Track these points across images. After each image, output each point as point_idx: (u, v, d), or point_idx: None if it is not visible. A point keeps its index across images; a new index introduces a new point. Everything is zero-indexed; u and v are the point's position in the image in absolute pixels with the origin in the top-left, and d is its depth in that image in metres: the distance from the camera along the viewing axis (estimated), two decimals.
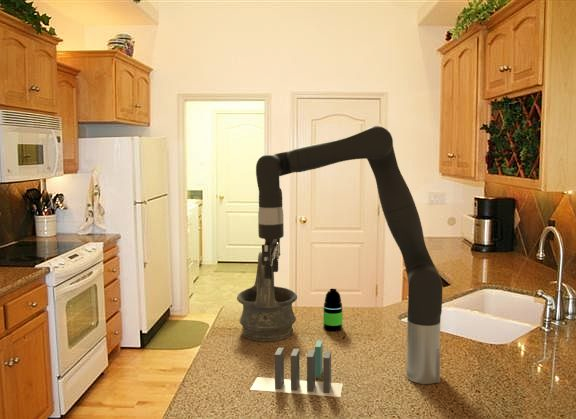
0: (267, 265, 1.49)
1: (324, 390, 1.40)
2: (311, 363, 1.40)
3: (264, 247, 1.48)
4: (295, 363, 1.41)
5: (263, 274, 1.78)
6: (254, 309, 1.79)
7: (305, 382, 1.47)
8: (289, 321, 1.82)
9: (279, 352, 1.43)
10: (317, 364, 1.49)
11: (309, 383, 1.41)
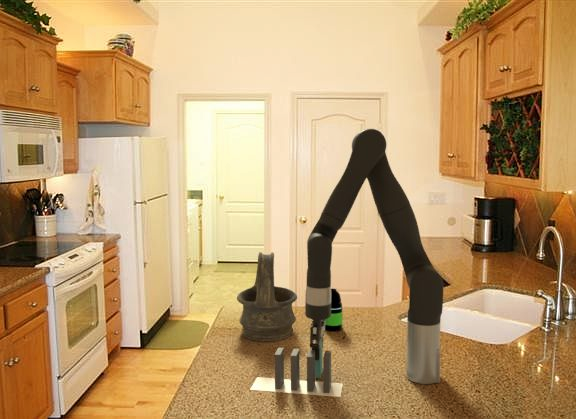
0: (315, 348, 1.45)
1: (324, 390, 1.40)
2: (311, 363, 1.40)
3: (313, 330, 1.44)
4: (295, 363, 1.41)
5: (263, 274, 1.78)
6: (254, 309, 1.79)
7: (305, 382, 1.47)
8: (289, 321, 1.82)
9: (279, 352, 1.43)
10: (317, 364, 1.49)
11: (309, 383, 1.41)
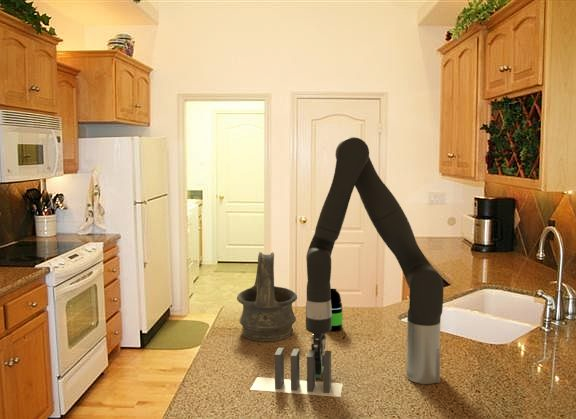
0: (317, 362, 1.47)
1: (324, 390, 1.40)
2: (311, 363, 1.40)
3: (314, 347, 1.45)
4: (295, 363, 1.41)
5: (263, 274, 1.78)
6: (254, 309, 1.79)
7: (305, 382, 1.47)
8: (289, 321, 1.82)
9: (279, 352, 1.43)
10: None
11: (309, 383, 1.41)
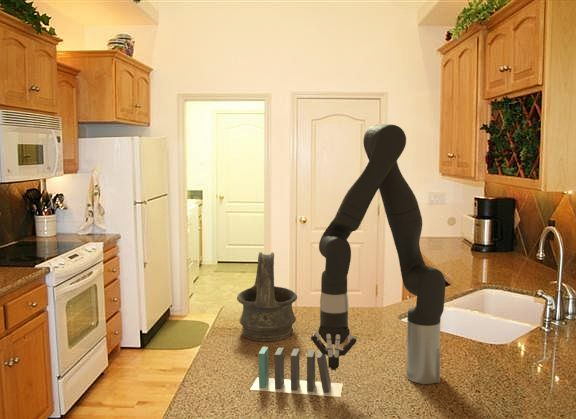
0: None
1: (324, 390, 1.40)
2: (311, 363, 1.40)
3: None
4: (295, 363, 1.41)
5: (263, 274, 1.78)
6: (254, 309, 1.79)
7: (305, 382, 1.47)
8: (289, 321, 1.82)
9: (279, 352, 1.43)
10: (261, 371, 1.43)
11: (309, 383, 1.41)
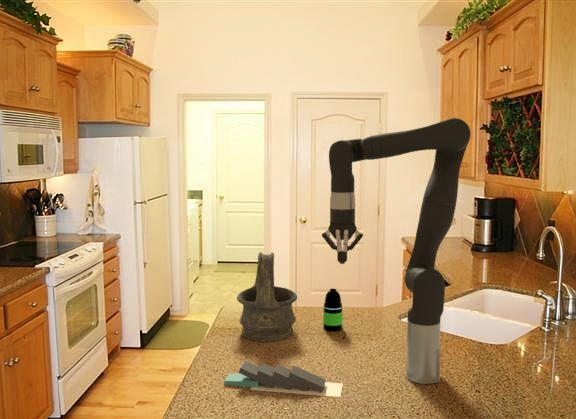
0: None
1: (319, 390, 1.41)
2: (279, 375, 1.42)
3: None
4: (265, 374, 1.43)
5: (263, 274, 1.78)
6: (254, 309, 1.79)
7: None
8: (289, 321, 1.82)
9: (241, 367, 1.46)
10: (242, 384, 1.45)
11: (298, 385, 1.42)
